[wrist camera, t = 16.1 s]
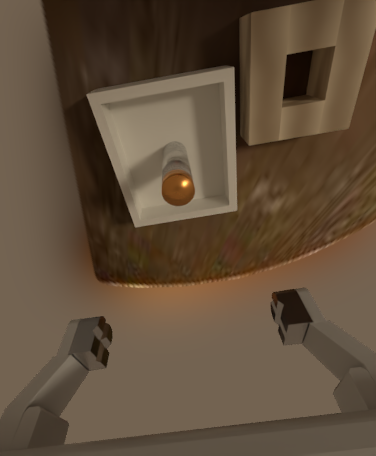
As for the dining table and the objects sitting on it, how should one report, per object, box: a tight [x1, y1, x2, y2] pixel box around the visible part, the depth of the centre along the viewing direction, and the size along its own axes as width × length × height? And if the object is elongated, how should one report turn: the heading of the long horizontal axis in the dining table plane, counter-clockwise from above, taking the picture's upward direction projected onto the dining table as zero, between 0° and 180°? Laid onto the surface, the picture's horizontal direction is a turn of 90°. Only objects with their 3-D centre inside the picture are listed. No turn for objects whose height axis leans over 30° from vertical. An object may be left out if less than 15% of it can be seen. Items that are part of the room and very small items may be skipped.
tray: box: [86, 65, 237, 227], centre depth 28 cm, size 14×16×4 cm
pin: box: [162, 141, 195, 206], centre depth 25 cm, size 3×3×10 cm
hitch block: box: [239, 0, 376, 146], centre depth 24 cm, size 11×11×4 cm
